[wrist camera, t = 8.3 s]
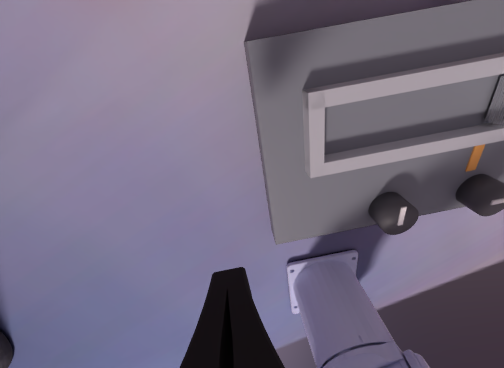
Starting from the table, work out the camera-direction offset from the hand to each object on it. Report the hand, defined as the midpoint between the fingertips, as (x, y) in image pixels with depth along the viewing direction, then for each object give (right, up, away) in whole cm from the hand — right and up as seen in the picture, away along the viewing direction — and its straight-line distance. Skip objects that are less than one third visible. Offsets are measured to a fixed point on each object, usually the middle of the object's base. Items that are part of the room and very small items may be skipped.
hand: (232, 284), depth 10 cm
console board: (+13, +9, +9) cm, 18 cm away
